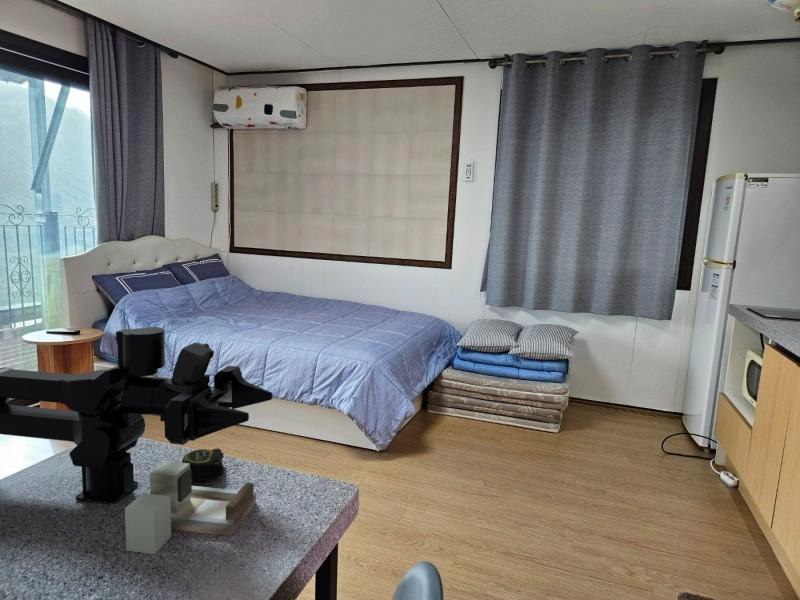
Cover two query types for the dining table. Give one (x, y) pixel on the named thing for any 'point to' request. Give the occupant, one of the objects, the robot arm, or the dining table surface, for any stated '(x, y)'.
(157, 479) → the open tray
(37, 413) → the robot arm
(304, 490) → the dining table surface
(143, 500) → the block
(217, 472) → the tape measure
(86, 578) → the dining table surface
